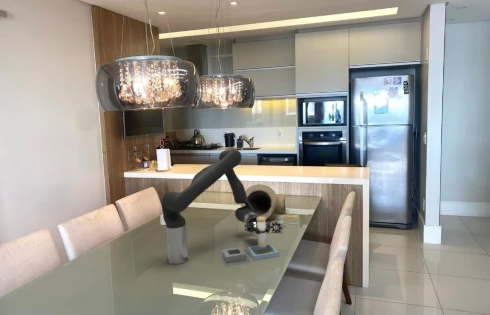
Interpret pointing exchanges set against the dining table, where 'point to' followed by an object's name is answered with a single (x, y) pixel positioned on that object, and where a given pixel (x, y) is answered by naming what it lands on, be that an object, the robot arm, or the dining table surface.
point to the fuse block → (234, 256)
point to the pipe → (265, 200)
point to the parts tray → (264, 255)
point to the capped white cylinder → (262, 232)
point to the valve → (279, 224)
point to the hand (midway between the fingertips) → (263, 231)
